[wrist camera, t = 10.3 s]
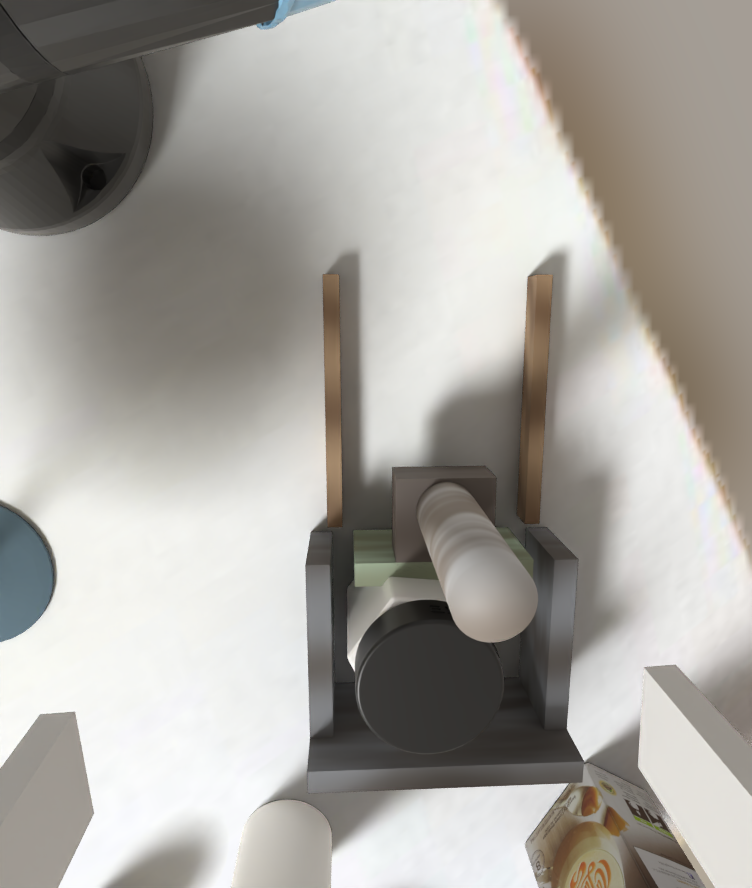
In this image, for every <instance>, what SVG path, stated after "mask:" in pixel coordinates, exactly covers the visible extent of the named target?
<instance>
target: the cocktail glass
mask: <svg viewBox="0 0 752 888" xmlns="http://www.w3.org/2000/svg"><path fill="white" fill-rule="evenodd" d="M53 576H54V575H53V568H52V562H51V559H50V556H49V553H48V550H47V548H46V547H45V545H44V543H43V541H42V539H41V538H40V537H39V535H38V534H37V532H36V531H35V530H34V529H33V528H32V527H31V526H30V525H29V524H28V523H27V522H26V521H25V520H24V519H22V518H21V517H20V516H18V515H17V514H16V513H14V512H12V511H10V510H8V509H7V508H5V507H2V506H0V642H2V641H5V640H8V639H11V638H13V637H15V636H17V635H19V634H21V633H23V632H24V631H26V630H27V629H28V628H30V627H31V626H32V625H33V624H34V623H35V622H36V621H37V620H38V619H39V618H40V616H41V615H42V613H43V612H44V610H45V609H46V607H47V605H48V603H49V600H50V598H51V594H52V589H53Z"/></svg>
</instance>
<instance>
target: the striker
mask: <svg viewBox="0 0 752 888" xmlns="http://www.w3.org/2000/svg"><path fill="white" fill-rule="evenodd" d="M496 480H497V478H496V477H495V476H494V474H493V473H492V472H491V471H490V470H489V469H488V468H487V467H486V466H440V467H392V529H387V530H353V545H354V578H355V587H366V586H382V585H383V584H384V583H385V581H386V580H387V579H388V578H389V577H403V578H416V579H429V580H439V581H440V584H441V587H442V590H443V593H444V595H445V598H446V601H447V604H448V606H449V609H450V612H451V615H452V617H453V620H454V622H455V624H456V625H457V626H458V628H459V629H460V630H461V631H462V632H463V633H464V634H466V635H467V636H469V637H471V638H473V639H475V640H478V641H481V642H492V643H493V642H501V641H505V640H508V639H510V638H512V637H515V636H516V635H518V634H519V633H521V632H522V631H523V630H524V629H525V628H526V627H527V626H528V625H529V623H530V622H531V621H532V619H533V617H534V615H535V612H536V609H537V605H538V593H537V588H536V585H535V583H534V581H533V562H534V560H533V558H532V557H531V556H530V555H529V553H528V552H527V551H526V550H525V548H524V547H523V546H522V544H521V543H520V542H519V541H518V539H517V538H516V537H515V536H514V534H513V533H512V532H511V531H510V529H509V528H508V527H495V506H496Z"/></svg>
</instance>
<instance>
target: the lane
mask: <svg viewBox="0 0 752 888" xmlns="http://www.w3.org/2000/svg"><path fill="white" fill-rule="evenodd" d="M552 280H553V275H534V276H530V277H528V284H527V306H526V327H525V349H524V370H523V392H522V414H521V435H520V457H519V478H518V500H517V516H518V517H519V518H520V519H521V520H522V521H523V522H524V523H525V524H539V520H540V501H541V483H542V464H543V446H544V428H545V409H546V391H547V372H548V354H549V336H550V317H551V299H552ZM323 313H324V366H325V418H326V471H327V523H328V528H329V527H342V522H343V513H342V441H341V368H340V296H339V274H323ZM525 550H526V551H527V552H528V553H529V555H530V556H531V557H532V558H533V560H534V562H533V581H534V583H535V585H536V588H537V593H538V605H537V609H536V612H535V615H534V617H533V619H532V621H531V622H530V623H529V625H528V626H527V627H526V628H525V629H524V630H523V631H522V632H521V647H520V667H519V678H504V692H503V697H502V701H501V704H500V707H499V709H498V711H497V713H496V715H495V717H494V718H493V720H492V721H491V723H490V724H489V725H488V726H487V728H486V729H485V730H484V731H483V732H482V733H481V734H479V735H478V736H477V737H476V738H474V739H473V740H472V741H470V742H468V743H467V744H465V745H463V746H461V747H459V748H456V749H453V750H450V751H447V752H442V753H436V754H417V753H410V752H406V751H403V750H400V749H397V748H395V747H393V746H391V745H389V744H387V743H385V742H384V741H383V740H381V739H380V738H379V737H377V736H376V735H375V734H374V733H373V732H372V731H371V730H370V729H369V727H368V726H367V724H366V723H365V721H364V720H363V718H362V716H361V714H360V711H359V708H358V705H357V701H356V694H355V683H335V663H334V606H333V549H332V531H329V532H311V535H310V541H309V547H308V553H307V559H306V565H305V566H306V603H307V640H308V677H309V714H310V746H309V758H308V769H307V779H308V793H331V792H356V791H382V790H407V789H432V788H458V787H483V786H508V785H534V784H559V783H582V782H583V769H584V760H583V759H582V757H581V755H580V753H579V751H578V749H577V748H576V746H575V744H574V742H573V740H572V738H571V736H570V735H569V733H568V731H567V716H568V701H569V687H570V672H571V658H572V643H573V629H574V614H575V600H576V585H577V570H578V559H577V558H576V557H575V556H574V555H573V554H572V553H571V552H570V551H569V549H568V548H567V547H566V546H565V545H564V544H563V543H562V542H561V541H560V540H559V539H558V538H557V537H556V536H555V535H554V534H553V533H552V532H551V531H550V530H549V529H548V528H547V527H543V528H526V547H525Z"/></svg>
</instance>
